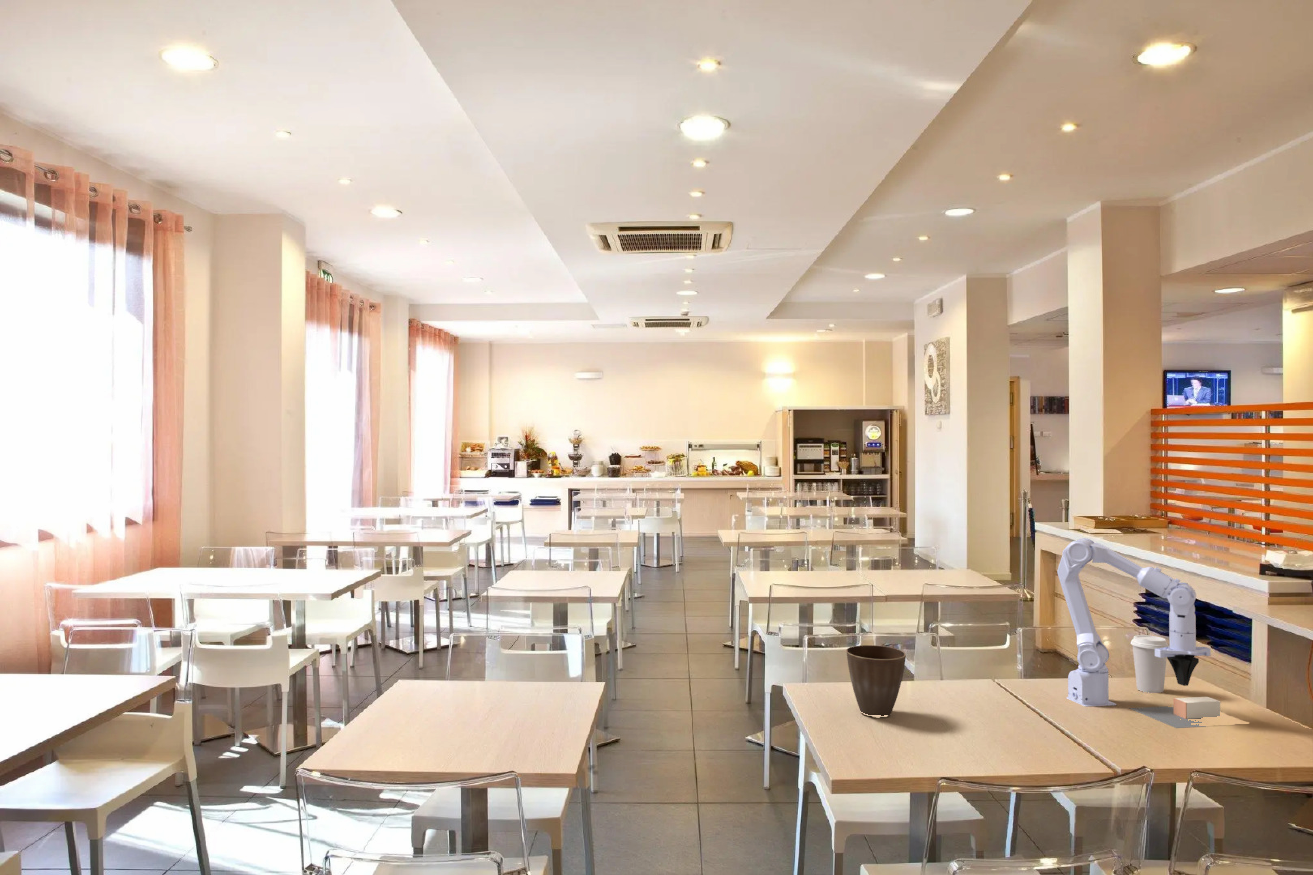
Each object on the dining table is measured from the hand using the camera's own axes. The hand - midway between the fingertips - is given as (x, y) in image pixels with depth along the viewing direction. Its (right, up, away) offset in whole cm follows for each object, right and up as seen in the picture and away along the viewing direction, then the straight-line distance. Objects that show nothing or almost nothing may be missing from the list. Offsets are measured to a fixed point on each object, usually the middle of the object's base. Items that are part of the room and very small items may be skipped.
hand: (1182, 684), depth 210 cm
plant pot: (-78, -8, +1) cm, 79 cm away
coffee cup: (+6, -9, +24) cm, 26 cm away
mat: (+2, -8, 0) cm, 9 cm away
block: (-1, -6, 0) cm, 6 cm away
